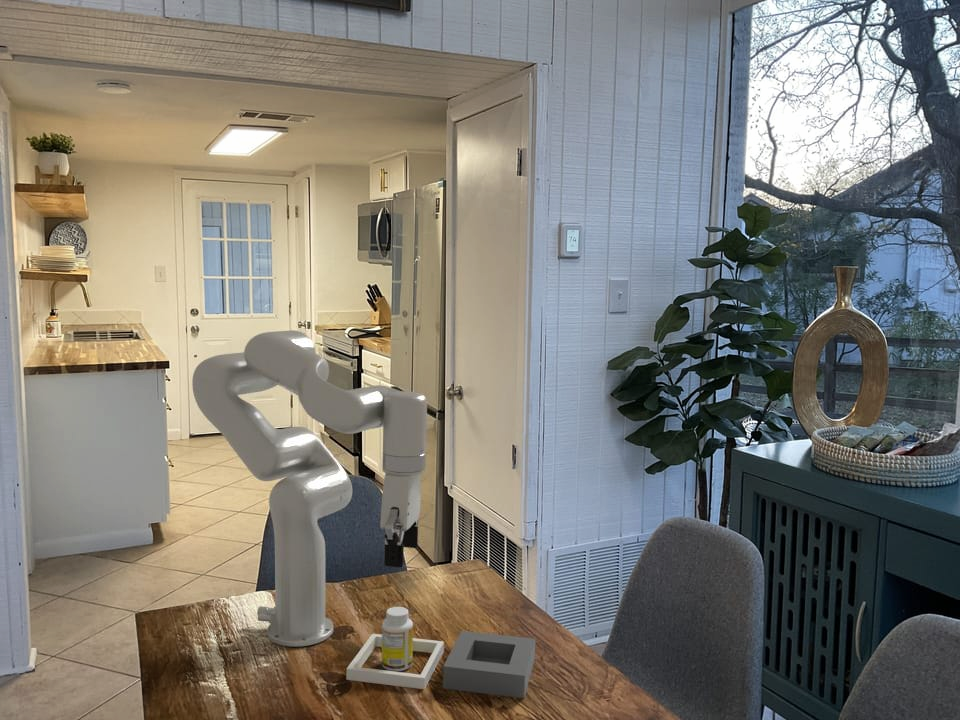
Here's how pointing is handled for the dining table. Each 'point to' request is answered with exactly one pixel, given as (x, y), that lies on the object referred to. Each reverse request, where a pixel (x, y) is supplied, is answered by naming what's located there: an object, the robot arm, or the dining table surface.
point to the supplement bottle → (397, 640)
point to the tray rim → (392, 677)
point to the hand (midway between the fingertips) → (401, 556)
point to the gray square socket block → (490, 664)
